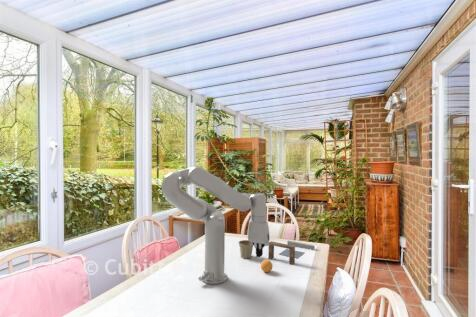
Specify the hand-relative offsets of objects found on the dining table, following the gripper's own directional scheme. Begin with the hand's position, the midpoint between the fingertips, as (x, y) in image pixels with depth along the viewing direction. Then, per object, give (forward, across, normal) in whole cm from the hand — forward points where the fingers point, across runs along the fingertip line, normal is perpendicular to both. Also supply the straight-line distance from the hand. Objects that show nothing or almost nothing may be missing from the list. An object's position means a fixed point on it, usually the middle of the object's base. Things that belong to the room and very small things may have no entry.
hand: (259, 256), depth 138 cm
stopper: (+12, -1, +57) cm, 58 cm away
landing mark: (+12, -1, +42) cm, 44 cm away
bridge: (+11, -1, +27) cm, 29 cm away
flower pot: (+11, -21, +21) cm, 32 cm away
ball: (+8, -1, +9) cm, 12 cm away
